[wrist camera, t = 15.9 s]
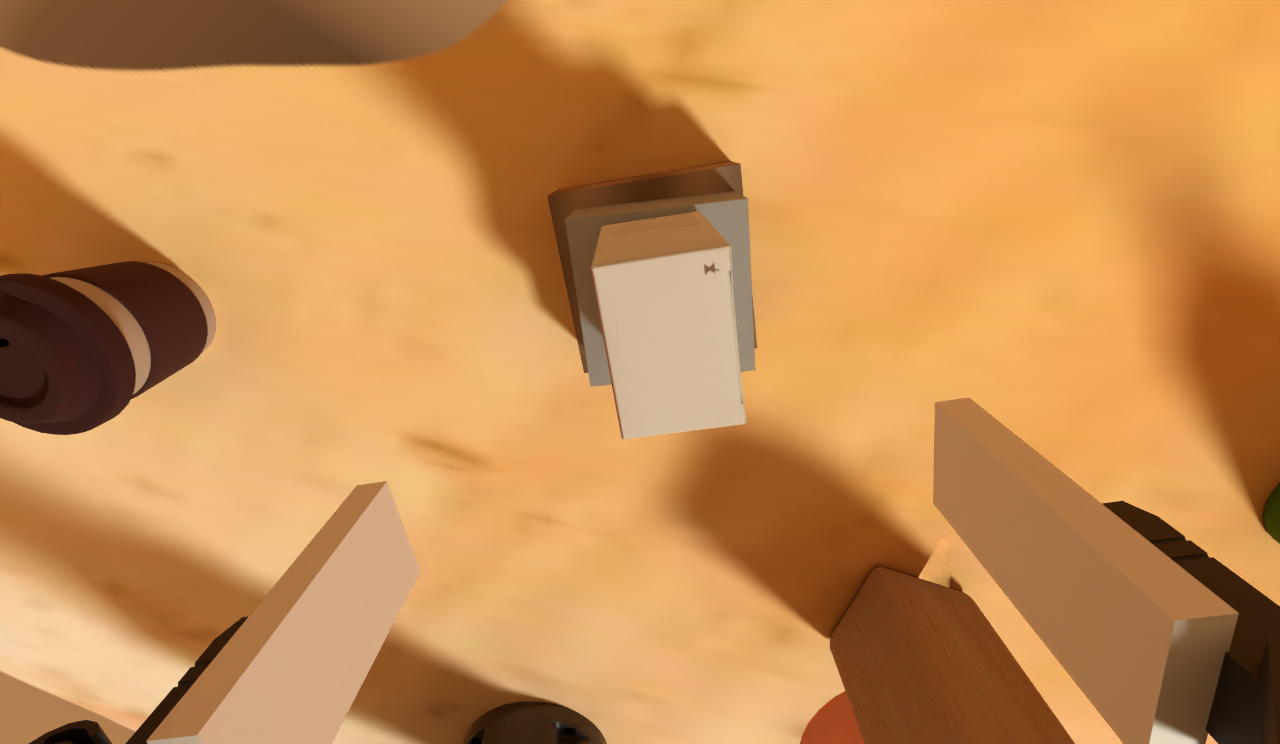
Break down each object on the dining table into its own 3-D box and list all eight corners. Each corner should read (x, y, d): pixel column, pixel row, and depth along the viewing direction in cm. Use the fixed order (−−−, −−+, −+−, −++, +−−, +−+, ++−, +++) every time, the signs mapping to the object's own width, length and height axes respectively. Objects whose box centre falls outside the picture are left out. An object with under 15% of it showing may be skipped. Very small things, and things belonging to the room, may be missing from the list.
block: (916, 667, 57) (1047, 923, 39) (822, 640, 56) (910, 890, 38) (972, 590, 54) (1144, 830, 35) (873, 559, 53) (998, 790, 34)
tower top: (596, 358, 41) (590, 386, 36) (574, 209, 37) (564, 219, 33) (742, 343, 40) (755, 370, 36) (734, 190, 37) (747, 198, 32)
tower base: (590, 349, 46) (584, 373, 41) (558, 189, 42) (547, 195, 37) (745, 326, 45) (757, 348, 41) (729, 160, 41) (740, 163, 36)
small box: (600, 224, 33) (586, 261, 23) (702, 208, 32) (732, 239, 23) (622, 359, 36) (619, 444, 26) (716, 346, 35) (748, 427, 26)
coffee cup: (258, 369, 50) (104, 462, 36) (136, 346, 49) (-68, 431, 35) (253, 253, 46) (79, 305, 32) (121, 226, 45) (-113, 268, 32)
